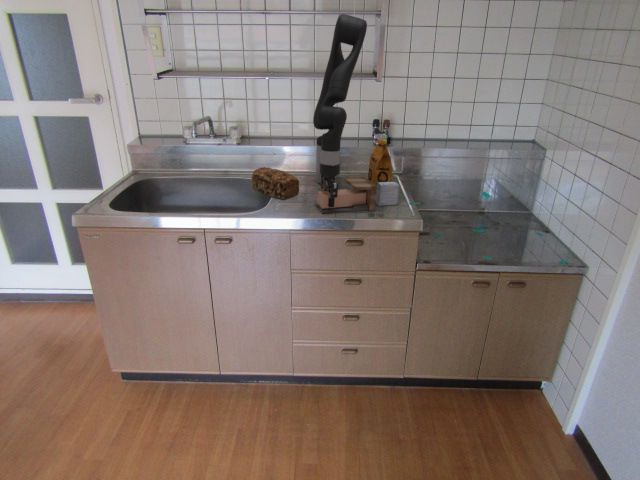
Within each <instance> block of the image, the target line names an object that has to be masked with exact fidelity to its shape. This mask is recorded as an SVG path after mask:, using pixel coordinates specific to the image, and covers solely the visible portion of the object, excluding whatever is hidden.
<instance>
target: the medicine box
mask: <svg viewBox="0 0 640 480" xmlns="http://www.w3.org/2000/svg"><path fill="white" fill-rule="evenodd" d="M399 191H400V184H399V183H397V182H396V181H391V182H378V183H377V193H376V197H375V204H377V205H378V207H379V206H380V207H381V206H382V207H383V206H396V205H398V200H399V199H398V198H399Z"/></svg>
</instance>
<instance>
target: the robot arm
mask: <svg viewBox="0 0 640 480" xmlns="http://www.w3.org/2000/svg"><path fill="white" fill-rule="evenodd" d="M367 22H368V21H367V20H366V19H364V18H361V17H357V16H353V15H349V14H345V13H341V14H340V15H338V17H337V20H336V23H335V26H334V31H333V37H332V43H331V47H330V48H331V49H330V53H329V57H328V61H327V65H326V68H325V71H324V72H325V73H324V76H323V81H322V85H321V91H320V94H319V98H318V101H317V103H316V106H315V109H314V113H313V117H312V118H313V119H312V122H313V127H314V128H315V129H317V130H328V131H327V132H324V133H322V135H320V136H318V137H317V138H316V149H315V151H316V153H315V154H316V155H315V158H316V160H315V162H316V163H315V183H318V184H319V185H321V186H320V188H321V191H327V192H328V197H329V201H328V206H329V207H334V199H335V198H337V194H338V190H339V183H338V182H337V179H336V177H337V176H338V175H340V171H341V142H342V141H341V138H342V135H343V132H344V128H345V125H346V122H347V118H348V115H347V111H346V109H344V108H343V107H341V106H335V105H336V104H339V103H343V102H345V101H346V100H347V96H348V93H349V88H350V84H351V79H352V76H353V73H354V70H355V67H356V65H357V62H358V60H359V56H360V53H361V50H362V47H363V44H364V41H365V37H366V34H367V29H368V23H367ZM342 44H345V45H348V46H352V48H351V51H350V53H349V54H348V55H347V57H346V58H344V55H343V50H342Z"/></svg>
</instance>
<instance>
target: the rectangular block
mask: <svg viewBox="0 0 640 480" xmlns="http://www.w3.org/2000/svg"><path fill="white" fill-rule="evenodd" d="M366 194H367V193H366V192H365V191H364V190H354V189H353V188H343V189H338V194H337V198H335V199H334V207H329V206H328V201H329V197H328V192H327V191H322V190H318V191H317V203H318V204H319V206H320V207H321V208H322V209H324V208H336V207H347V206H353V205H357V204H366Z"/></svg>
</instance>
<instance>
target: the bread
mask: <svg viewBox="0 0 640 480" xmlns="http://www.w3.org/2000/svg"><path fill="white" fill-rule="evenodd" d="M251 184H252V189H253V190H254V191H255V192H259V193H260V194H263V195H266V196H269V197H272V198H277V199H280V200H287V199H289V198H291V197H296V196H298V195H299V191H300V181H299V179H298V177H296V176H295V175H293V174H291V173H289V172H287V171H285V170H281V169H276V168H271V167H266V166H264V167H259V168H256V169H255V170H254V171H253V172H252V176H251Z"/></svg>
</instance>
